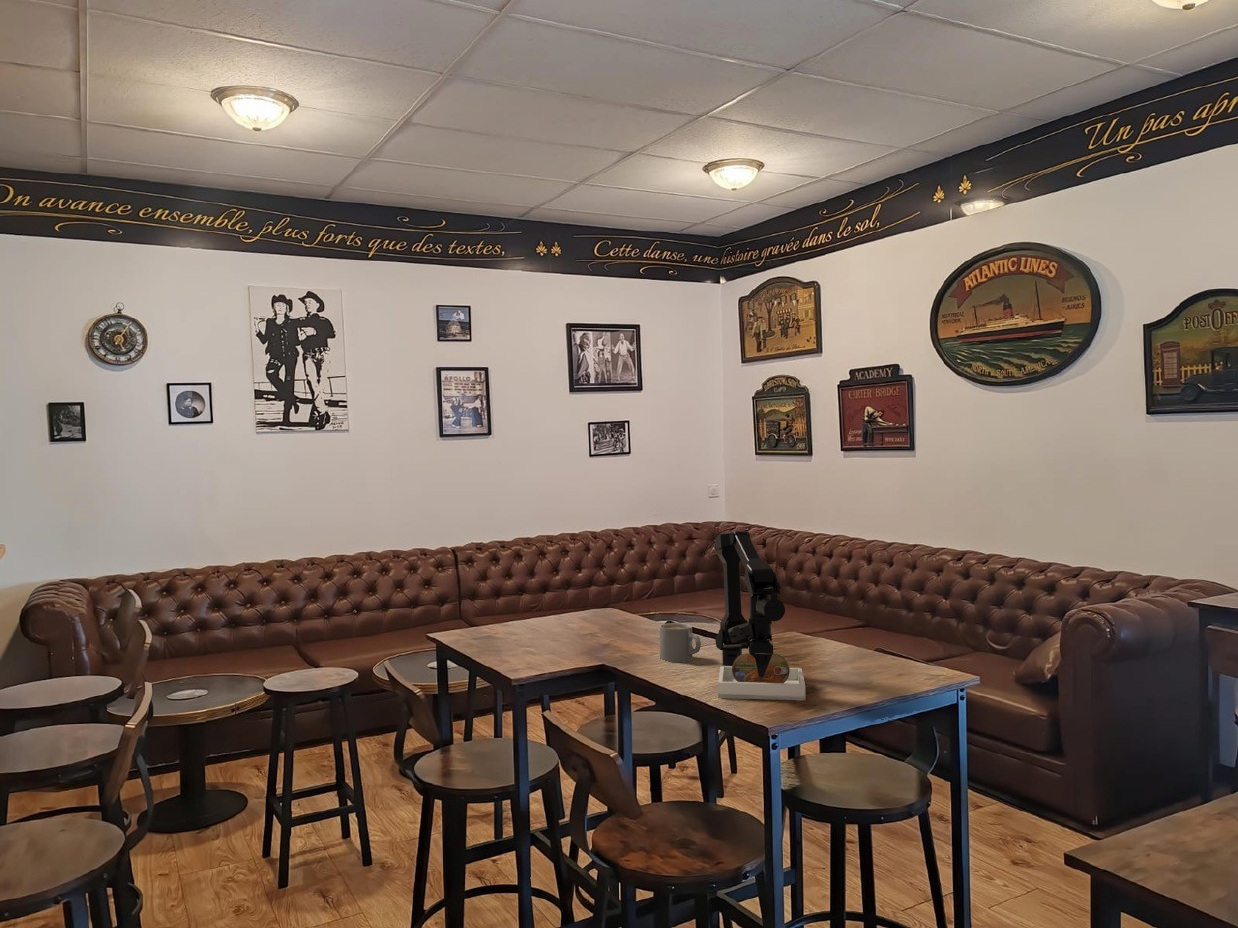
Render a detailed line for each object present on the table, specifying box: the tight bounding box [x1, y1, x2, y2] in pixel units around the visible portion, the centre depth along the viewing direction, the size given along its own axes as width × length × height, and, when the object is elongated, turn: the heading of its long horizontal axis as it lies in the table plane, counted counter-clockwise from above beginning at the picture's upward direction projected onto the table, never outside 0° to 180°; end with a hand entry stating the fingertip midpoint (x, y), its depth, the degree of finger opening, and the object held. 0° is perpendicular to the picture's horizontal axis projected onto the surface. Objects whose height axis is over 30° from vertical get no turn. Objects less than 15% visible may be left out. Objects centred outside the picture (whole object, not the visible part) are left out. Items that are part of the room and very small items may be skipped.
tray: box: [717, 665, 806, 701], centre depth 240 cm, size 18×22×4 cm
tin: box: [732, 652, 790, 683], centre depth 240 cm, size 15×3×8 cm, turn 81°
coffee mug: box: [659, 622, 702, 663], centre depth 276 cm, size 13×10×10 cm
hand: (760, 673), depth 240 cm, fingers open, 9 cm apart
